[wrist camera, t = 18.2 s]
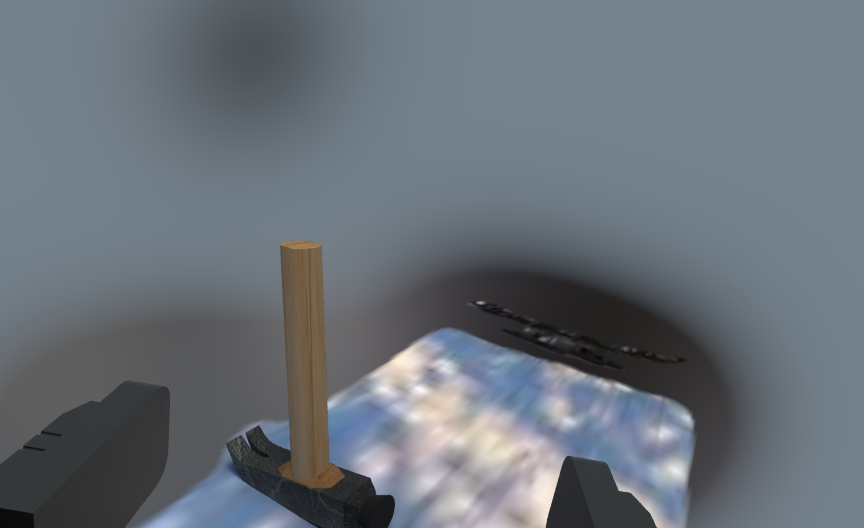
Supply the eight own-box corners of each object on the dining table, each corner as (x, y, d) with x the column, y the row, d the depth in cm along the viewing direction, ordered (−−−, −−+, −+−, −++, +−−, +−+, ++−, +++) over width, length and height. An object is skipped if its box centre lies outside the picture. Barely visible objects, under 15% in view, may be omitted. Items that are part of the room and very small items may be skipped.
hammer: (229, 489, 65) (210, 238, 59) (261, 469, 69) (246, 233, 63) (368, 548, 55) (362, 256, 49) (395, 520, 60) (393, 248, 54)
